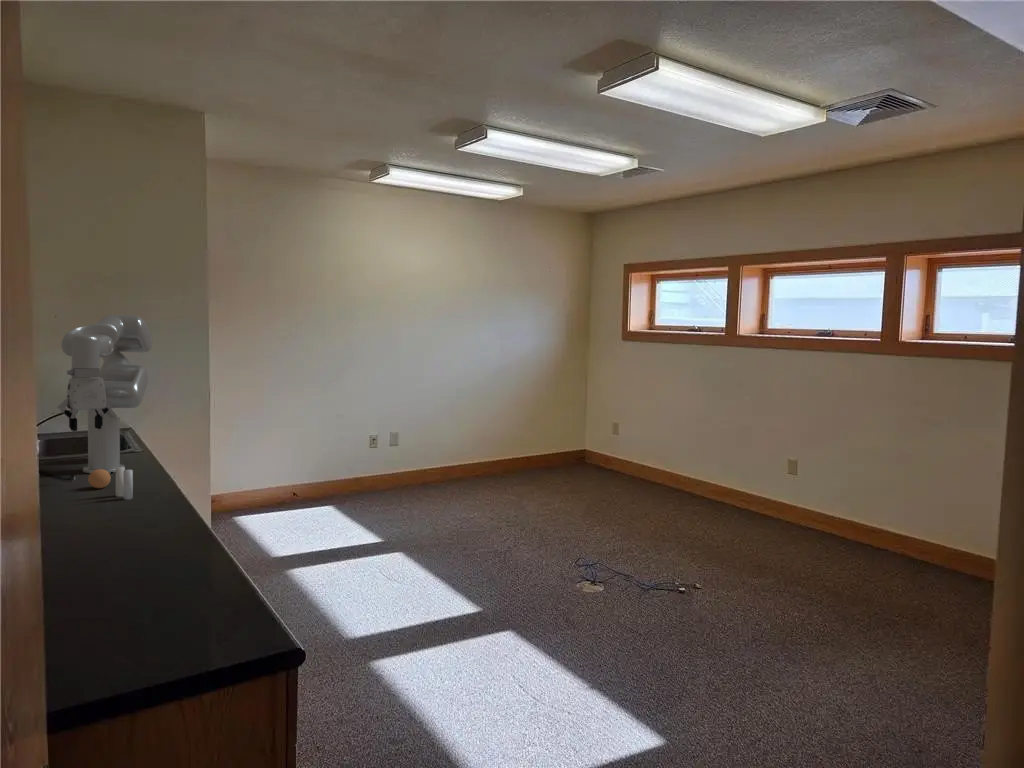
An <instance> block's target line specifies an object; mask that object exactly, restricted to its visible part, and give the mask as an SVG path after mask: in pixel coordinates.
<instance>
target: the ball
mask: <svg viewBox="0 0 1024 768" xmlns="http://www.w3.org/2000/svg"><path fill="white" fill-rule="evenodd" d="M87 479H88V480H87V481H88V483H89V485H90V486H91V487H92V488H95V489H102V488H105V487H107V486H108V485H109V484H110V482H111V479H112V478H111V473H109V472H108V471H106V470H104V469H97V470H94V471H93V472H91V473H89V475H88V478H87Z"/></svg>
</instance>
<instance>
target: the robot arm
mask: <svg viewBox="0 0 1024 768" xmlns="http://www.w3.org/2000/svg"><path fill="white" fill-rule="evenodd" d="M152 348H153V337H152V333H151V332H150V329H149V327H148V325H147V323H146V321H145V320H144V319H143V318H142V317H141V316H139V315H133V314H132V315H131V314H130V315H129V314H108V315H106V316H104V317H102V318H101V319H100V320H98V322H97V323H93V324H89V325H82V326H79V327H75V328H71V329H70V330H69V331H67V332H66V333H65V334H64V336H63V338H62V340H61V349H62V352H63V353H64V354H65V355H66V356H68V357H71V368H70V370H66V375H67V376H69V375H70V376H71V378H69V380H68V384H67V389H66V398H65V400H64V401H62V402H61V403H60V404H59V405H57V409H58V410H59V411H60V412H62V414H64V415H65V416H66V417H67V419H68V427H69V429H70V431H73V432H77V431H78V418H76V417H77V415H78V412H79V411H85V410H87V412H86V414H87V455H88V456H87V458H88V459H87V463H88V465H87V466H84V467H83V468H82V472H83V473H86V474H91V472H93V471H94V470H97V469H104V470H106V471H108V472H109V474H111V472H113V473H116V468H117V467H125V465H124V464H121V460H120V459H121V437H120V435H121V429H120V428H121V426H120V425H121V424H120V417H119V418H118V416H119V415H117V414H116V413H115V411H114V410H113V409H135V408H137V407H140V405H141V404H142V401H143V399H144V396H145V393H146V391H147V387H148V383H149V375H148V370H147V368H145V367H144V366H142V365H137V364H130V360H129V359H128V358H127V357H126V356H125V355H124V354H123V353H148V352H150V350H152ZM100 358H102V360H103V363H102V365H100V364H101V363H100V362H101V361H100ZM100 366H101V367H100ZM67 408H68V409H69V410H68V409H67ZM125 468H126V467H125Z"/></svg>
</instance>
